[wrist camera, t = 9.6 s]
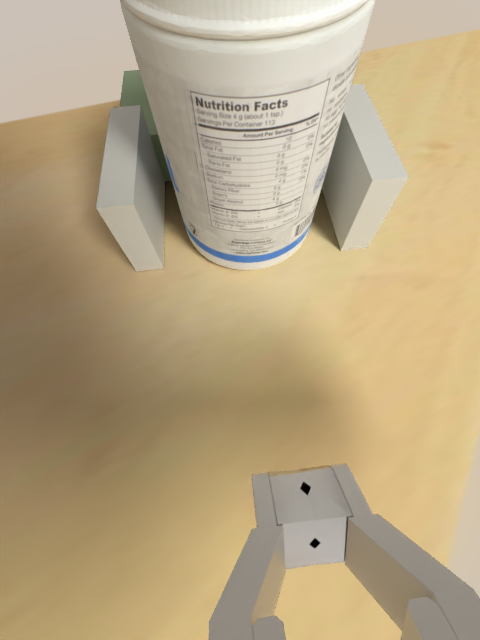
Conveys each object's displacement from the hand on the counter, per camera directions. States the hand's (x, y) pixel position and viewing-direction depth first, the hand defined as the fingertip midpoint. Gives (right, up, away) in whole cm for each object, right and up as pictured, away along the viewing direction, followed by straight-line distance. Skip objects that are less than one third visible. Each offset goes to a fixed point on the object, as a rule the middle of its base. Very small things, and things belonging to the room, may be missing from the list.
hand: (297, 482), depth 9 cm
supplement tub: (-1, +12, +13) cm, 18 cm away
